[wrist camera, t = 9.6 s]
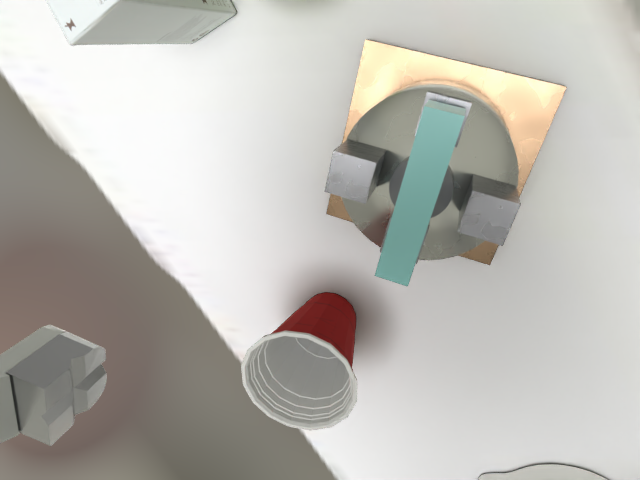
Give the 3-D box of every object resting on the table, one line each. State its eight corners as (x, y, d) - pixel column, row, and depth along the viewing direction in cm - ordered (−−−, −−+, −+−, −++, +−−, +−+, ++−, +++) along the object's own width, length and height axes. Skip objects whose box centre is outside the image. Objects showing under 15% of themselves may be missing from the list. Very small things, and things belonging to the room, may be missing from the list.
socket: (489, 259, 43) (493, 332, 32) (329, 209, 46) (286, 261, 35) (564, 85, 35) (600, 107, 25) (368, 39, 38) (327, 41, 28)
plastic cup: (388, 355, 51) (365, 438, 40) (299, 353, 54) (257, 429, 44) (372, 268, 47) (342, 334, 36) (278, 273, 51) (226, 335, 40)
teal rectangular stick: (481, 108, 30) (482, 120, 26) (428, 259, 36) (421, 291, 32) (417, 92, 31) (407, 101, 27) (374, 243, 37) (361, 271, 32)
